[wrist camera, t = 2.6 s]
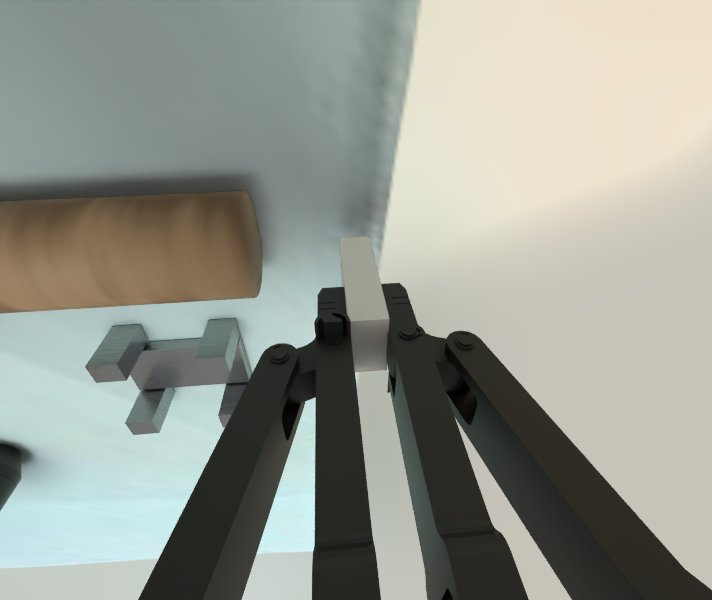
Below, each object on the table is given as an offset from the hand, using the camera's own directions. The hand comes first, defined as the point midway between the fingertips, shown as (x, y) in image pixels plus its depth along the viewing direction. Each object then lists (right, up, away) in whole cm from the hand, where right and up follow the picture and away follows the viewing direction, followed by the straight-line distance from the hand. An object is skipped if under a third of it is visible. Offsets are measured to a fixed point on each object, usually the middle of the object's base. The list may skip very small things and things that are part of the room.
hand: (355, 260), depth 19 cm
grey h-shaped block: (-14, -7, +10) cm, 18 cm away
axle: (-18, +2, +3) cm, 19 cm away
